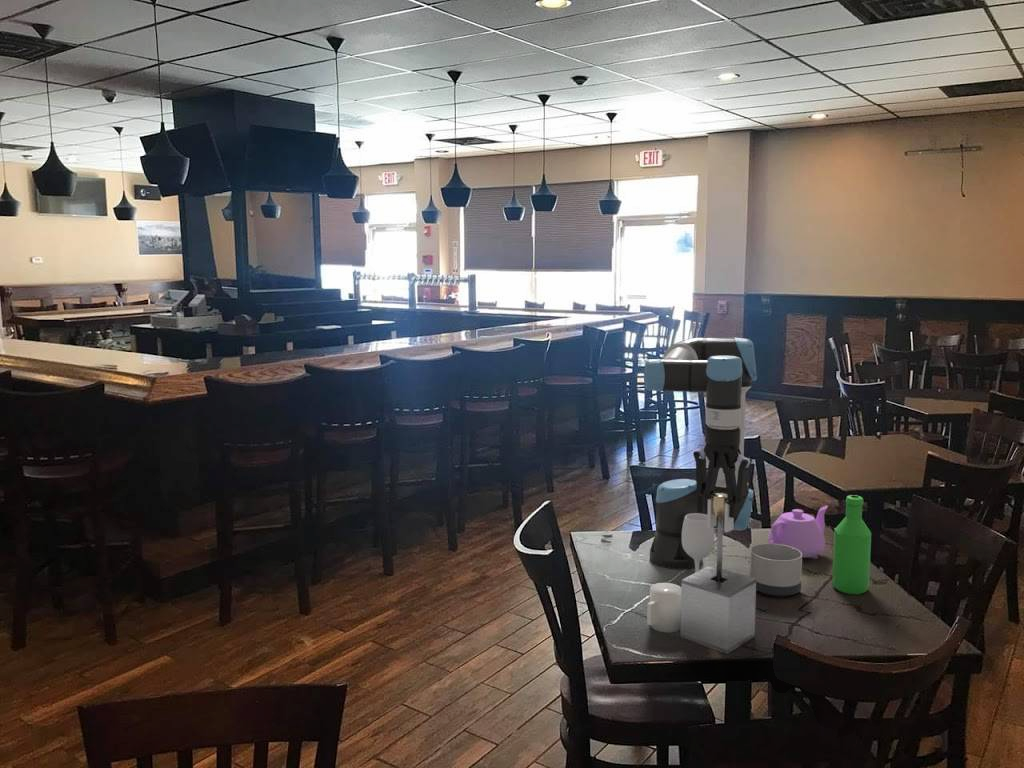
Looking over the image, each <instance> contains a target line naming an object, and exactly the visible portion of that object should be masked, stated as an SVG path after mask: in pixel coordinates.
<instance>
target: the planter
mask: <svg viewBox="0 0 1024 768" xmlns="http://www.w3.org/2000/svg"><path fill="white" fill-rule="evenodd" d="M749 551H750V554H749V577H752V578H755V579H756V592H757V591H758V592H759V593H762V594H763V595H766V596H767V595H768V596H771V597H786V596H792V595H795V594H797V593H799V592H801V590H802V572H803V571H802V570H803V569H802V567H803V558H802V553H801V552H800V551H799V550H798V549H796V548H793V547H790V546H786V545H781V544H769V543H761V544H755V545H753V546H752V547H751V548H750V550H749Z"/></svg>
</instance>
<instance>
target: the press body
mask: <svg viewBox="0 0 1024 768" xmlns="http://www.w3.org/2000/svg"><path fill="white" fill-rule="evenodd" d="M716 567H717V566H713V565H708V566H706V567H704V568H702V569H699V571H698V572H696V573H695V572H694V573H692V574H690V575H688V576H686V577H684V578H683V579H681V586H680V587H681V629H680V638H682V639H684V640H686V641H690V642H692V643H696V644H698V645H701V646H702V647H703V646H704V647H706V648H709V649H712V650H714V651H717V650H718V651H717V652H719V651H720V652H719V653H722V652H724V653H723V654H725V653H727V654H726V655H729V654H730V652H731V651H732V652H733V650H734V651H735V650H737V649H738V648H740V647H741V646H742V645H744V644H745V643H747V642H748V641H750V640H751V639H752V638H754V637H755V632H756V598H757V590H756V579H755V578H752V577H750V576H749V575H744V574H741V573H737V572H733V571H730V570H727V569H723V568H722V583H720V582H717V581H714V580H716ZM736 648H737V649H736ZM732 652H731V653H732ZM728 653H729V654H728Z"/></svg>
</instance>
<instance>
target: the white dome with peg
mask: <svg viewBox="0 0 1024 768" xmlns="http://www.w3.org/2000/svg"><path fill="white" fill-rule="evenodd" d="M646 607H647V609H646V611H647V614H646V616H647V619H646V624H647V625H649V627H650V628H651V629H653V630H655V631H657V632H660V633H661V632H662V633H675V632H678V631H681V586H680V585H678V584H675V583H670V582H659V583H654V584H652V585H650V586H649V602H648V603H647V605H646Z"/></svg>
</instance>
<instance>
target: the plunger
mask: <svg viewBox="0 0 1024 768" xmlns="http://www.w3.org/2000/svg"><path fill="white" fill-rule="evenodd" d="M727 502H728V496H727V494H723V493H716V494H713V505H712V515H714V516H717V517H718V527H717V531H716V532H717V533H716V534H717V535H716V536H717V538H716V566H715V567H716V580H714V581H717V582H720V583H722V569H723V544H724V541H723V540H724V539H723V538H724V529H723V517H725V503H727Z"/></svg>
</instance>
